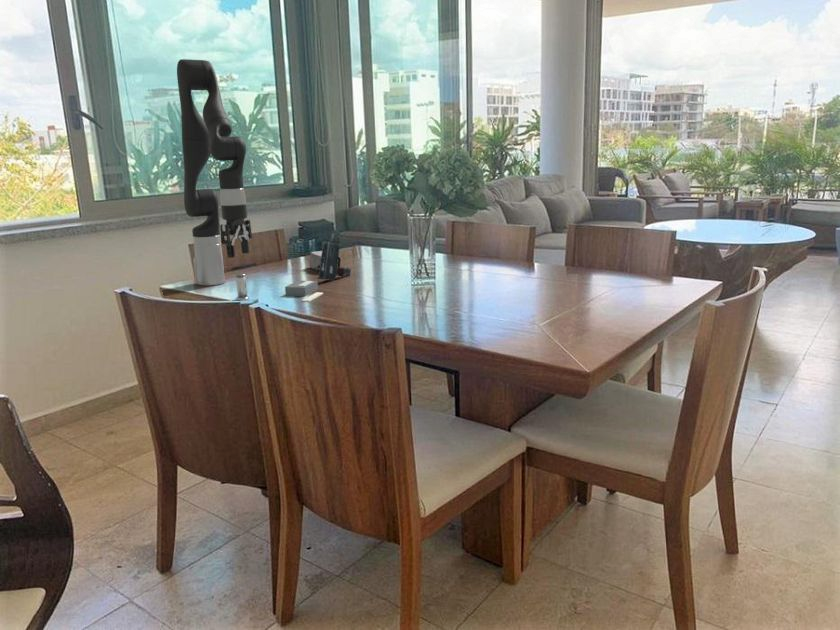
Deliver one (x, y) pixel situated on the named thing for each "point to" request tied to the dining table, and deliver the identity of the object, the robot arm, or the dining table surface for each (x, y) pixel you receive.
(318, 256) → the decorative stone
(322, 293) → the cream flat strip
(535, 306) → the dining table surface
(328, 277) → the gun
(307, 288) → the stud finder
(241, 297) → the grey beige cylinder
